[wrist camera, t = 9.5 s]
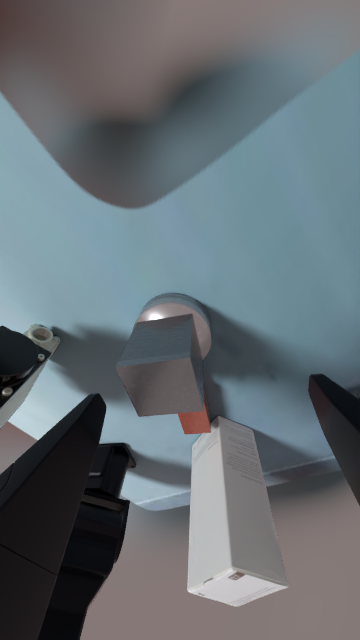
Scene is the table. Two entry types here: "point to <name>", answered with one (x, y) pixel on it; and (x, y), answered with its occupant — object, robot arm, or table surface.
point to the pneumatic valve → (22, 364)
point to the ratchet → (185, 305)
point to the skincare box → (231, 519)
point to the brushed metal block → (163, 367)
